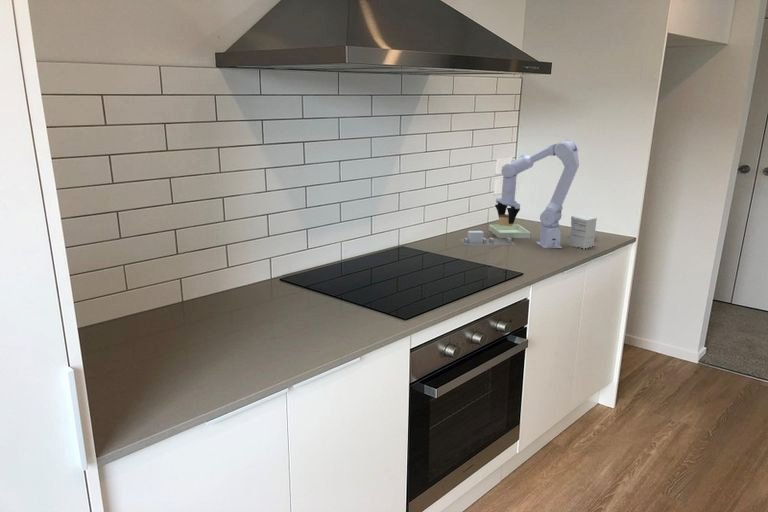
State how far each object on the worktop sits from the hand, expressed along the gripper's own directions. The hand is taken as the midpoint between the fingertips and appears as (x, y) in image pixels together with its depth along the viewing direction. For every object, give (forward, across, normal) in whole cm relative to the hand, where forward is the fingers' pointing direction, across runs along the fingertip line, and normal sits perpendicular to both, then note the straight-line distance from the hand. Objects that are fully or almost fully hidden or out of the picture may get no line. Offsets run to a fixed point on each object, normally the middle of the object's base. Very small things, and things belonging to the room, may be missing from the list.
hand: (506, 222), depth 270 cm
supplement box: (+8, -23, -22) cm, 33 cm away
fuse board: (+7, -4, +12) cm, 15 cm away
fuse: (+7, -2, +17) cm, 19 cm away
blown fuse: (+1, 0, 0) cm, 1 cm away
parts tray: (+7, +5, -6) cm, 10 cm away
